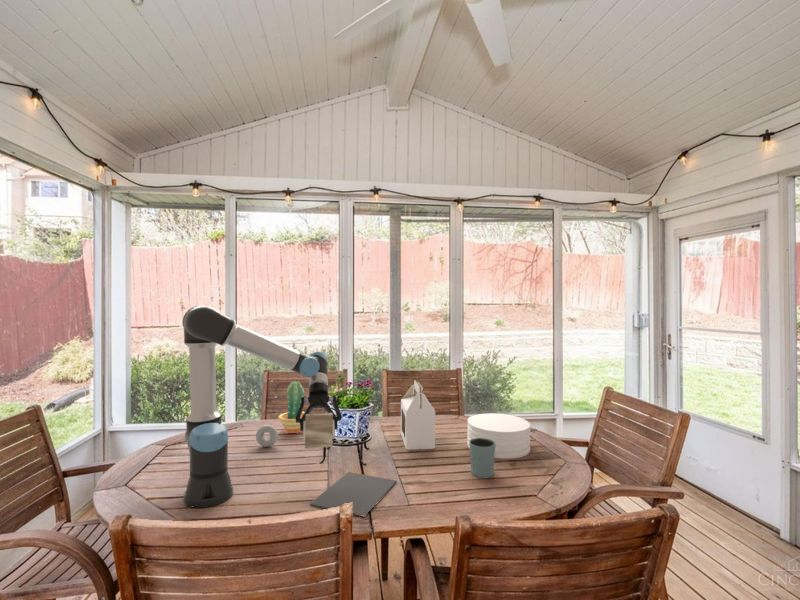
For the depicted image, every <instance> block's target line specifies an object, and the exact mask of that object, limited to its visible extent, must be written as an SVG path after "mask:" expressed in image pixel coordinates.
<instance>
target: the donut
mask: <svg viewBox="0 0 800 600" xmlns="http://www.w3.org/2000/svg"><path fill="white" fill-rule="evenodd" d="M255 433H256V434H255V440H256V442H257V443H258V445H260V446H262V447H263V448H264V447H265V448H270V447H272V446H274V445H275V444H276V443H277V441H278V438H279V434H278V429H277V428H275V427H274V426H273V425H271V424H264V425H262V426H260V427H259V428H258V429H257V431H256V432H255ZM266 433H268V434H269V436H270V437H269V438H268V439H267V438H265V436H264V435H265V434H266Z"/></svg>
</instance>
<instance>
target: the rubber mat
mask: <svg viewBox="0 0 800 600" xmlns="http://www.w3.org/2000/svg"><path fill="white" fill-rule="evenodd" d="M396 483H397V480H395V479H389V478H385V477H379V476H372V475H366V474H362V473H357V472H350V471H347V473H345V474H344V475H343V476H342V477H340V478H339V479H338V480H337V481H336V482H334V483H333V484H332V485H331V486H329V487H328V488H327V489H326V490H325V491H324V492H322V493H321V494H320V495H319V496H317V497H316V498H315V499H314V500H312V501H311V502H310V503H309V506H311V507H315V508H319V509H320V508H321V509H325V510H327V509H326V508H331V507H337V506H340V505H342V504H344V503H350V502H353V515H352V516H355V515H356V514H358V515H364V516H365V515H366V514H367V513H368V512H369V511H370V510H371V509H372V508H373V506H374V505H375V504H376V503H377V502H378V501H379V500H380V499H381V498H382V497H383V496H384V495H385V494H388V493H389V491H390V490H391V489H392V488H393V487H394V486H395V484H396ZM393 485H394V486H393ZM392 486H393V487H392ZM391 487H392V488H391ZM390 488H391V489H390ZM385 496H386V495H385ZM385 496H384V497H385ZM384 497H383V498H384ZM383 498H382V499H383ZM382 499H381V500H382ZM381 500H380V501H381ZM380 501H379V502H380ZM363 508H364V509H363ZM373 509H374V508H373ZM373 509H372V510H373ZM372 510H371V511H372ZM362 511H363V512H362Z"/></svg>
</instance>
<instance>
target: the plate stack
mask: <svg viewBox="0 0 800 600" xmlns="http://www.w3.org/2000/svg"><path fill="white" fill-rule="evenodd" d="M475 438H484V439H490V440H492V441H494V442H495V443H496V445H495V454H494V459H518V458H522V457H525V456H528V454H530V452H531V423H530V422H529V421H528V420H526V419H525V418H522V417H518V416H515V415H512V414H506V413H505V414H504V413H480V414H479V413H478V414H475V415H472V416H470V417H468V418H467V447H468V449H469V450H470V445H469V441H470V440H472V439H475Z"/></svg>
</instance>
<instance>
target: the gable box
mask: <svg viewBox="0 0 800 600" xmlns="http://www.w3.org/2000/svg"><path fill="white" fill-rule="evenodd" d="M424 389H425V388H424V387H423V385H422V384H421V383H420V382H419V381H417V380H416V379H414V382H413V384H412V385H410V386H409V387H408V389H407V390H406V393H405V394H404V395H403V396H402V398H401V399H400V434H401V438H402V441H403V444H404V447H405V450H407V451H412V450H435V449H436V410H435V408H434V407H433V406H432V405H433V404H431V403H430V401H429V400H428V398H427V396H426V394H424V393H423V391H424Z"/></svg>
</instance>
